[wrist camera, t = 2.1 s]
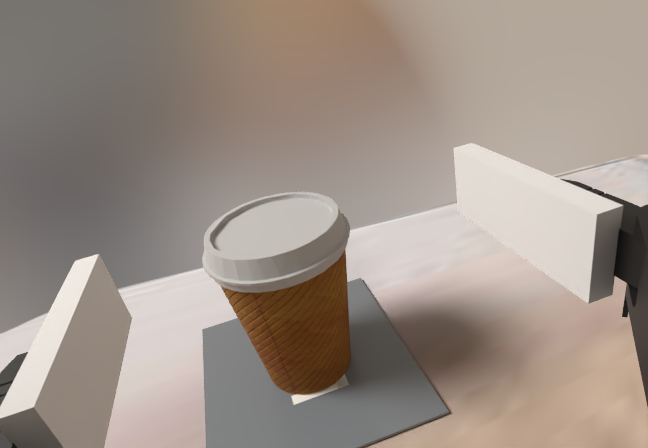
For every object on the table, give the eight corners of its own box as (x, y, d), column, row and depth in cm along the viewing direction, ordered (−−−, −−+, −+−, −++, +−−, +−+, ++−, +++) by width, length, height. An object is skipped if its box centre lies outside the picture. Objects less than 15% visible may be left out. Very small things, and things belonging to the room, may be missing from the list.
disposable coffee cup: (308, 304, 39) (276, 181, 33) (398, 345, 32) (377, 201, 27) (222, 376, 33) (167, 241, 27) (311, 441, 27) (262, 284, 21)
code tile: (209, 507, 24) (208, 505, 24) (203, 331, 38) (202, 329, 38) (449, 413, 27) (448, 411, 27) (361, 279, 41) (360, 277, 41)
